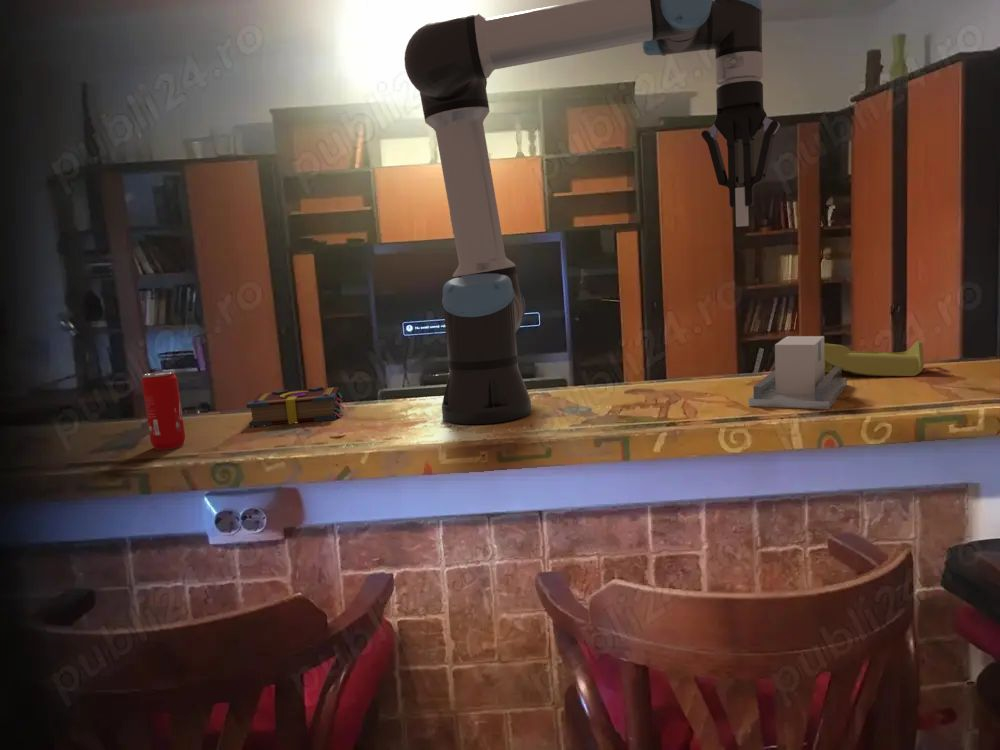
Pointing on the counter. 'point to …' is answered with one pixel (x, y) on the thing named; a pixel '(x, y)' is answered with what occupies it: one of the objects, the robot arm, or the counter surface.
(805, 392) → the block
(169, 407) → the beverage can
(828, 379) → the grey channel bracket
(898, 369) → the plastic component
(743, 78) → the robot arm
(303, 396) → the decorative book
